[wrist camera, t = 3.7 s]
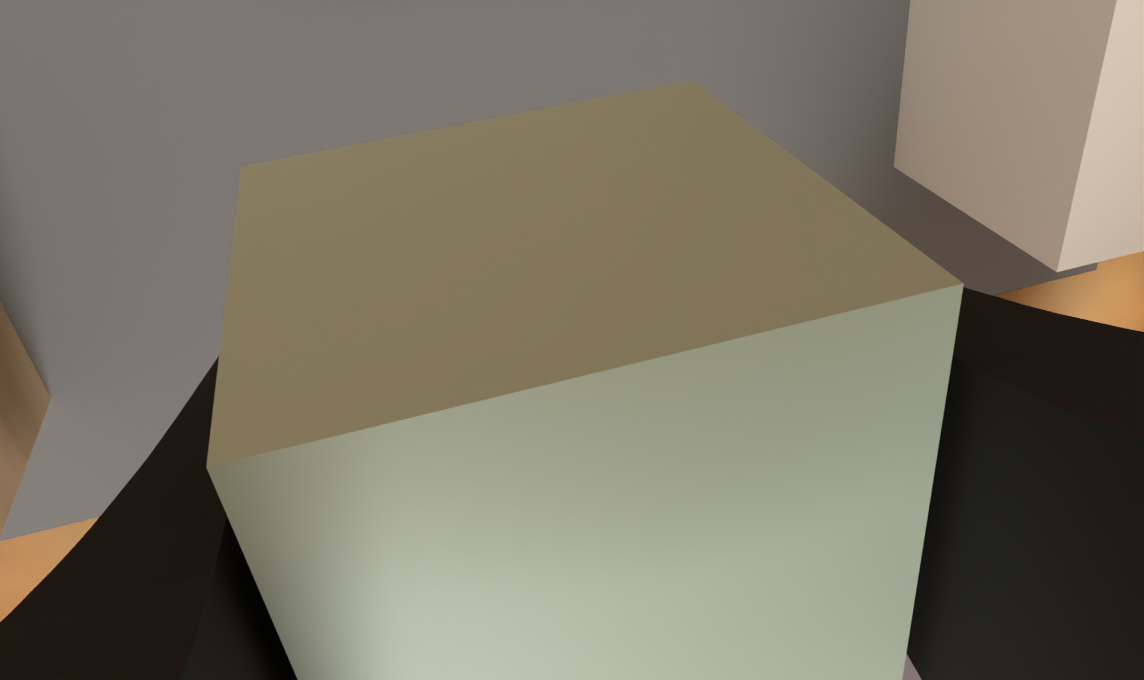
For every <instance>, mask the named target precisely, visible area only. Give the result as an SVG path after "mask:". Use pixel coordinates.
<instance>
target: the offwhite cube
mask: <svg viewBox="0 0 1144 680" xmlns="http://www.w3.org/2000/svg"><path fill="white" fill-rule="evenodd" d="M894 167H895V168H896V169H898V170H899V171H901V172H902V173H904V174H905V175H907V176H908V177H910V178H912V179H913V180H915V181H916V182H918V183H919V184H921V185H922V186H924V187H925V188H927V189H929V190H930V191H932V192H933V193H935V194H936V195H938V196H939V197H941V198H943V199H944V200H946V201H947V202H949V203H950V204H952V205H953V206H955V207H956V208H958V209H960V210H961V211H963V212H964V213H966V214H967V215H969V216H970V217H972V218H973V219H975V220H977V221H978V222H980V223H981V224H983V225H984V226H986V227H987V228H989V229H991V230H992V231H994V232H995V233H997V234H998V235H1000V236H1001V237H1003V238H1004V239H1006V240H1008V241H1009V242H1011V243H1012V244H1014V245H1015V246H1017V247H1018V248H1020V249H1021V250H1023V251H1025V252H1026V253H1028V254H1029V255H1031V256H1032V257H1034V258H1035V259H1037V260H1039V261H1040V262H1042V263H1043V264H1045V265H1046V266H1048V267H1049V268H1051V269H1052V270H1054V271H1056V272H1060V271H1064V270H1068V269H1072V268H1076V267H1080V266H1084V265H1088V264H1092V263H1097V262H1101V261H1105V260H1109V259H1113V258H1117V257H1121V256H1125V255H1129V254H1133V253H1137V252H1141V251H1144V0H910V9H909V19H908V29H907V39H906V49H905V59H904V69H903V79H902V89H901V99H900V109H899V119H898V129H897V139H896V149H895V159H894Z"/></svg>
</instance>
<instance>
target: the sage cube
mask: <svg viewBox="0 0 1144 680" xmlns="http://www.w3.org/2000/svg"><path fill="white" fill-rule="evenodd" d="M963 285H964V283H962V282H961V281H960V280H958V279H957V278H956V277H954V276H953V275H952V274H950V273H949V272H948V271H946V270H945V269H944V268H942V267H941V266H940V265H938V264H937V263H936V262H934V261H933V260H932V259H930V258H929V257H928V256H926V255H925V254H924V253H922V252H921V251H920V250H918V249H917V248H916V247H914V246H913V245H912V244H910V243H909V242H908V241H906V240H905V239H904V238H902V237H901V236H900V235H898V234H897V233H896V232H894V231H893V230H892V229H890V228H889V227H888V226H886V225H885V224H884V223H882V222H881V221H880V220H878V219H877V218H876V217H874V216H873V215H872V214H870V213H869V212H868V211H866V210H865V209H864V208H862V207H861V206H860V205H858V204H857V203H856V202H854V201H853V200H852V199H850V198H849V197H848V196H846V195H845V194H844V193H842V192H841V191H840V190H838V189H837V188H836V187H834V186H833V185H832V184H830V183H829V182H828V181H826V180H825V179H824V178H822V177H821V176H820V175H818V174H817V173H816V172H814V171H813V170H812V169H810V168H809V167H808V166H806V165H805V164H804V163H802V162H801V161H800V160H798V159H797V158H796V157H794V156H793V155H792V154H790V153H789V152H788V151H786V150H785V149H784V148H782V147H781V146H780V145H778V144H777V143H776V142H774V141H773V140H772V139H770V138H769V137H768V136H766V135H765V134H764V133H762V132H761V131H760V130H758V129H757V128H756V127H754V126H753V125H752V124H750V123H749V122H748V121H746V120H745V119H744V118H742V117H741V116H740V115H738V114H737V113H736V112H734V111H733V110H731V109H730V108H729V107H727V106H726V105H725V104H723V103H722V102H721V101H719V100H718V99H717V98H715V97H714V96H713V95H711V94H710V93H709V92H707V91H706V90H705V89H703V88H702V87H701V86H699V85H698V84H697V83H695V82H694V81H693V80H691V81H685V82H680V83H675V84H670V85H664V86H659V87H654V88H649V89H644V90H638V91H633V92H628V93H623V94H617V95H612V96H607V97H602V98H597V99H591V100H586V101H581V102H576V103H570V104H565V105H560V106H555V107H550V108H544V109H539V110H534V111H529V112H523V113H518V114H513V115H508V116H503V117H497V118H492V119H487V120H482V121H476V122H471V123H466V124H461V125H455V126H450V127H445V128H440V129H435V130H429V131H424V132H419V133H414V134H408V135H403V136H398V137H393V138H388V139H382V140H377V141H372V142H367V143H361V144H356V145H351V146H346V147H341V148H335V149H330V150H325V151H320V152H314V153H309V154H304V155H299V156H294V157H288V158H283V159H278V160H273V161H267V162H262V163H257V164H252V165H246V166H241V169H240V178H239V186H238V195H237V204H236V213H235V221H234V230H233V239H232V248H231V256H230V265H229V274H228V282H227V291H226V300H225V309H224V317H223V326H222V335H221V344H220V352H219V361H218V370H217V379H216V387H215V396H214V405H213V414H212V422H211V431H210V440H209V449H208V457H207V466H206V468H207V470H208V472H209V475H210V477H211V479H212V482H213V484H214V486H215V489H216V491H217V493H218V496H219V498H220V500H221V503H222V505H223V507H224V510H225V512H226V514H227V517H228V519H229V521H230V524H231V526H232V528H233V530H234V533H235V535H236V537H237V540H238V542H239V544H240V547H241V549H242V551H243V554H244V556H245V558H246V561H247V563H248V565H249V568H250V570H251V572H252V575H253V577H254V579H255V582H256V584H257V586H258V589H259V591H260V593H261V596H262V598H263V600H264V603H265V605H266V607H267V610H268V612H269V614H270V617H271V619H272V621H273V624H274V626H275V628H276V631H277V633H278V635H279V637H280V640H281V642H282V644H283V647H284V649H285V651H286V654H287V656H288V658H289V661H290V663H291V665H292V668H293V670H294V672H295V675H296V677H297V679H298V680H902V678H903V672H904V665H905V659H906V652H907V646H908V639H909V633H910V627H911V620H912V614H913V607H914V601H915V594H916V588H917V582H918V575H919V569H920V562H921V556H922V549H923V543H924V536H925V530H926V524H927V517H928V511H929V504H930V498H931V491H932V485H933V479H934V472H935V466H936V459H937V453H938V446H939V440H940V433H941V427H942V421H943V414H944V408H945V401H946V395H947V388H948V382H949V376H950V369H951V363H952V356H953V350H954V343H955V337H956V330H957V324H958V318H959V311H960V305H961V298H962V292H963Z"/></svg>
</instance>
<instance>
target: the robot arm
mask: <svg viewBox="0 0 1144 680" xmlns="http://www.w3.org/2000/svg"><path fill="white" fill-rule="evenodd" d="M218 361H219V356H218V358H217V359H216V361H215V362H214V363H213V365H212V366H211V368H210V369H209V371H208V372H207V374H206V375H205V376H204V378H203V379H202V381H201V382H200V384H199V385H198V387H197V388H196V390H195V391H194V393H193V394H192V395H191V397H190V398H189V400H188V401H187V403H186V404H185V406H184V407H183V409H182V410H181V412H180V413H179V414H178V416H177V417H176V419H175V420H174V422H173V423H172V425H171V426H170V427H169V429H168V430H167V431H166V433H165V434H164V436H163V437H162V438H161V440H160V441H159V442H158V444H157V445H156V447H155V448H154V449H153V451H152V452H151V454H150V455H149V456H148V458H147V459H146V460H145V462H144V463H143V464H142V465H141V467H140V468H139V469H138V470H137V472H136V473H135V474H134V475H133V477H132V478H131V479H130V480H129V481H128V483H127V484H126V485H125V486H124V488H123V489H122V490H121V491H120V493H119V494H118V495H117V496H116V498H115V499H114V500H113V501H112V502H111V504H110V505H109V506H108V507H107V509H106V510H105V511H104V512H103V514H102V515H101V516H100V517H99V518H98V520H97V521H96V522H95V523H94V525H93V526H92V527H91V528H90V529H89V531H88V532H87V533H86V534H85V535H84V536H83V537H82V539H81V540H80V541H79V542H78V543H77V544H76V545H75V546H74V548H73V549H72V550H71V551H70V552H69V553H68V554H67V555H66V556H65V557H64V558H63V559H62V560H61V562H60V563H59V564H58V565H57V566H56V567H55V568H54V569H53V570H52V571H51V572H50V573H49V574H48V575H47V576H46V577H45V578H44V579H43V580H42V581H41V582H40V583H39V584H38V585H37V586H36V587H35V588H34V589H33V590H32V591H31V592H30V593H29V594H28V595H27V596H26V598H25V599H24V600H23V601H22V602H21V603H20V604H19V605H18V606H17V607H16V608H15V609H14V610H13V611H12V612H11V613H10V614H9V615H8V616H6V617H5V618H4V619H3V620H2V621H1V622H0V680H298V679H297V677H296V675H295V672H294V670H293V668H292V665H291V663H290V661H289V658H288V656H287V654H286V651H285V649H284V647H283V644H282V642H281V640H280V637H279V635H278V633H277V631H276V628H275V626H274V624H273V621H272V619H271V617H270V614H269V612H268V610H267V607H266V605H265V603H264V600H263V598H262V596H261V593H260V591H259V589H258V586H257V584H256V582H255V579H254V577H253V575H252V572H251V570H250V568H249V565H248V563H247V561H246V558H245V556H244V554H243V551H242V549H241V547H240V544H239V542H238V540H237V537H236V535H235V533H234V530H233V528H232V526H231V524H230V521H229V519H228V517H227V514H226V512H225V510H224V507H223V505H222V503H221V500H220V498H219V496H218V493H217V491H216V489H215V486H214V484H213V482H212V479H211V477H210V475H209V472H208V470H207V468H206V466H207V457H208V449H209V440H210V431H211V422H212V414H213V405H214V396H215V387H216V379H217V370H218ZM902 680H1144V332H1140V331H1135V330H1130V329H1125V328H1121V327H1116V326H1111V325H1107V324H1102V323H1098V322H1093V321H1089V320H1084V319H1080V318H1075V317H1071V316H1066V315H1062V314H1057V313H1054V312H1050V311H1046V310H1042V309H1038V308H1034V307H1030V306H1026V305H1023V304H1019V303H1016V302H1012V301H1009V300H1006V299H1002V298H999V297H995V296H992V295H989V294H985V293H982V292H978V291H975V290H972V289H968V288H965V287H963V292H962V298H961V305H960V311H959V318H958V324H957V330H956V337H955V343H954V350H953V356H952V363H951V369H950V376H949V382H948V388H947V395H946V401H945V408H944V414H943V421H942V427H941V433H940V440H939V446H938V453H937V459H936V466H935V472H934V479H933V485H932V491H931V498H930V504H929V511H928V517H927V524H926V530H925V536H924V543H923V549H922V556H921V562H920V569H919V575H918V582H917V588H916V594H915V601H914V607H913V614H912V620H911V627H910V633H909V639H908V646H907V652H906V659H905V665H904V672H903V678H902Z"/></svg>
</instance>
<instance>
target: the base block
mask: <svg viewBox="0 0 1144 680" xmlns="http://www.w3.org/2000/svg"><path fill="white" fill-rule="evenodd" d="M50 400H51V397H50V395H49V393H48V391H47V389H46V387H45V386H44V384H43V382H42V380H41V378H40V376H39V374H38V372H37V370H36V368H35V367H34V365H33V363H32V361H31V359H30V357H29V355H28V353H27V351H26V349H25V348H24V346H23V344H22V342H21V340H20V338H19V336H18V334H17V332H16V330H15V329H14V327H13V325H12V323H11V321H10V319H9V317H8V315H7V313H6V312H5V310H4V308H3V306H2V304H1V302H0V535H1V533H2V530H3V527H4V525H5V522H6V519H7V517H8V514H9V511H10V508H11V506H12V503H13V500H14V498H15V495H16V492H17V490H18V487H19V484H20V481H21V479H22V476H23V473H24V471H25V468H26V465H27V463H28V460H29V457H30V454H31V452H32V449H33V446H34V444H35V441H36V438H37V435H38V433H39V430H40V427H41V425H42V422H43V419H44V417H45V414H46V411H47V408H48V406H49V403H50Z"/></svg>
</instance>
